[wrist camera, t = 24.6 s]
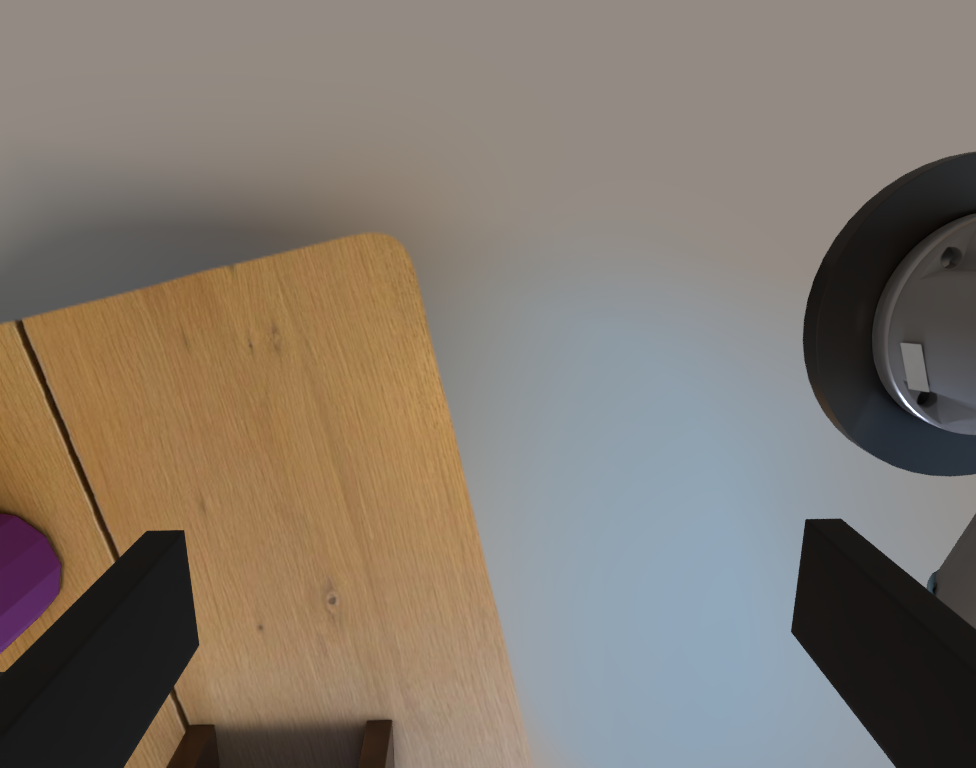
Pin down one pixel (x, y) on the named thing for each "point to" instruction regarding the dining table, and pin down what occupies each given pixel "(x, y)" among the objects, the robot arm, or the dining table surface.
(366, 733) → the shelf stand
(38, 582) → the mug
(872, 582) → the robot arm
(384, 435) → the dining table surface
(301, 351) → the dining table surface
